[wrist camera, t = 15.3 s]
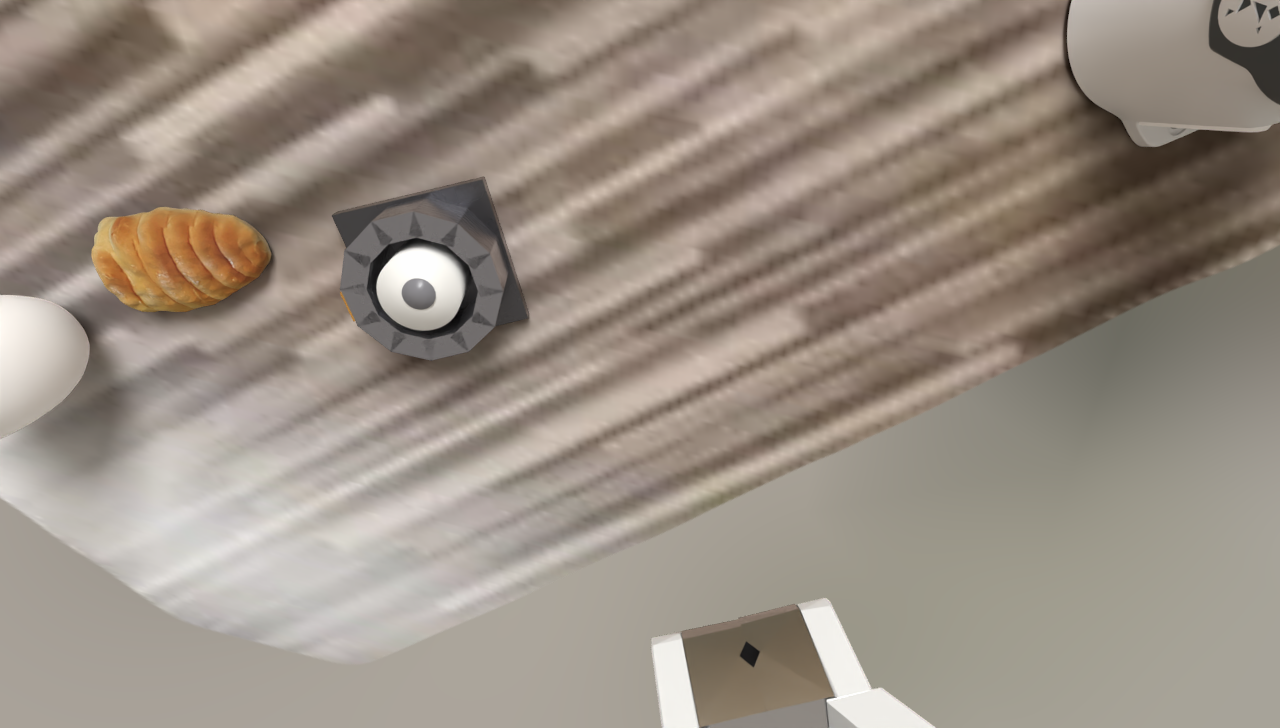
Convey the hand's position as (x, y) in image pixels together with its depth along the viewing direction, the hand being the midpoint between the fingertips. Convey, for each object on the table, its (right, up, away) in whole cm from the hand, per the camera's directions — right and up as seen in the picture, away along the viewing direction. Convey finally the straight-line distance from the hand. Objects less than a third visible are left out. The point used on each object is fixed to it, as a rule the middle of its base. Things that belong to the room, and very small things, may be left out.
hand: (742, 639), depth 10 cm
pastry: (-32, +12, +30) cm, 46 cm away
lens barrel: (-16, +11, +32) cm, 37 cm away
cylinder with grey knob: (-16, +11, +31) cm, 37 cm away
